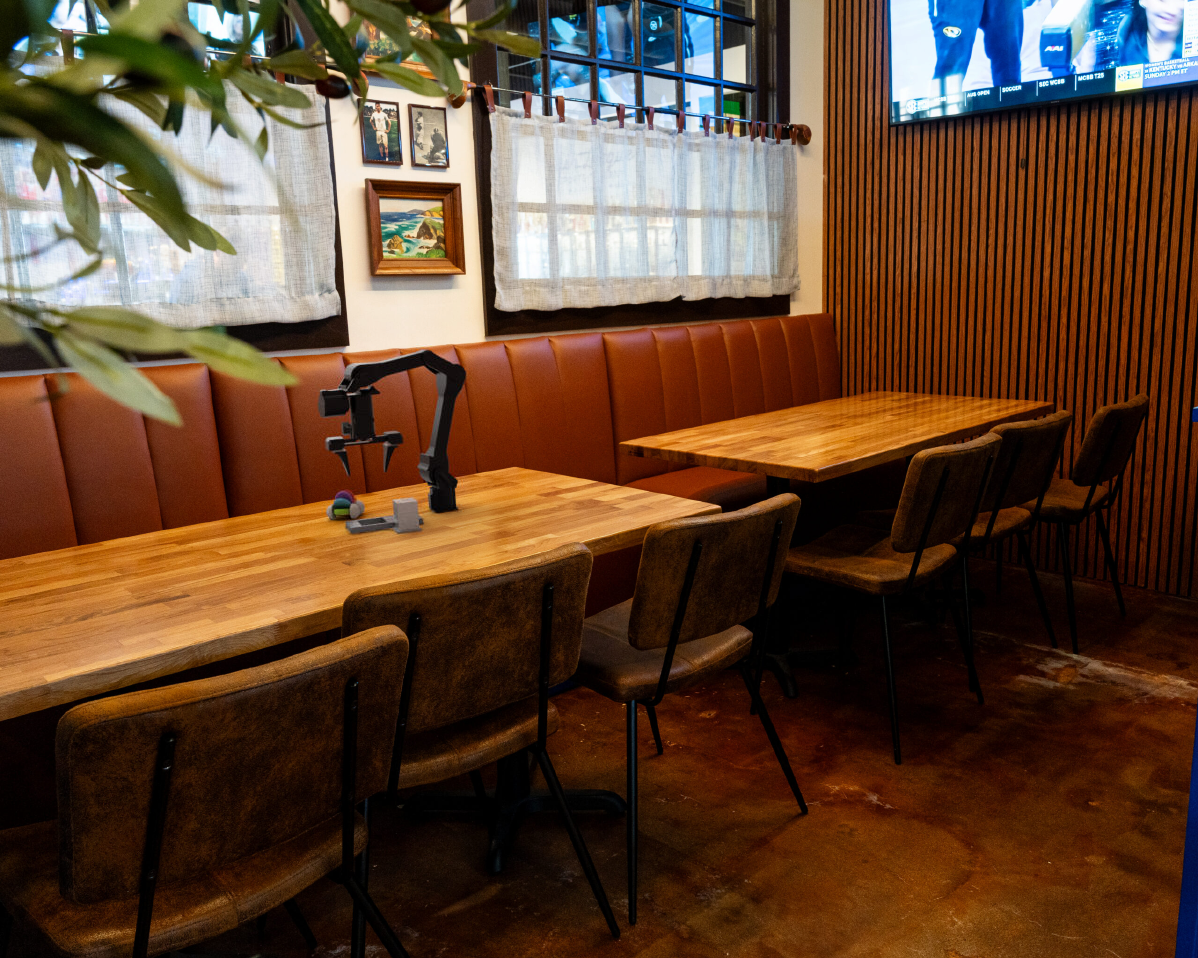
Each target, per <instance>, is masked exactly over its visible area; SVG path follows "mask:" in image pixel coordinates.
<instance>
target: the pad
mask: <svg viewBox="0 0 1198 958" xmlns="http://www.w3.org/2000/svg"><path fill="white" fill-rule="evenodd" d="M391 529H392V530H393V531H394V532H395V533H396V534H406V533H413V532H421V531H422V530H423V529H422V528H421V527H420V526H419V529H414V530H407V531H398V530H397V529H396V528H395V527H392V528H391Z"/></svg>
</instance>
